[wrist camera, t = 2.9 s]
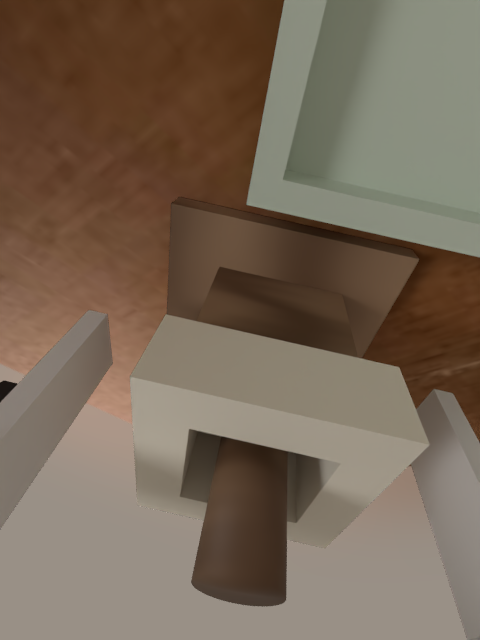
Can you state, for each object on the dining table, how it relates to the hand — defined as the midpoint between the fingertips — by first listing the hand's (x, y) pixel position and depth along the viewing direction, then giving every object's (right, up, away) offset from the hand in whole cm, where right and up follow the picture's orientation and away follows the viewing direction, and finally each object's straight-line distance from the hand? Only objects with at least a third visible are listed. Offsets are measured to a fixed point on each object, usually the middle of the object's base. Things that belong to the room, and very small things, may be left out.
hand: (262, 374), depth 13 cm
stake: (+1, +2, +3) cm, 4 cm away
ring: (0, -1, -2) cm, 2 cm away
